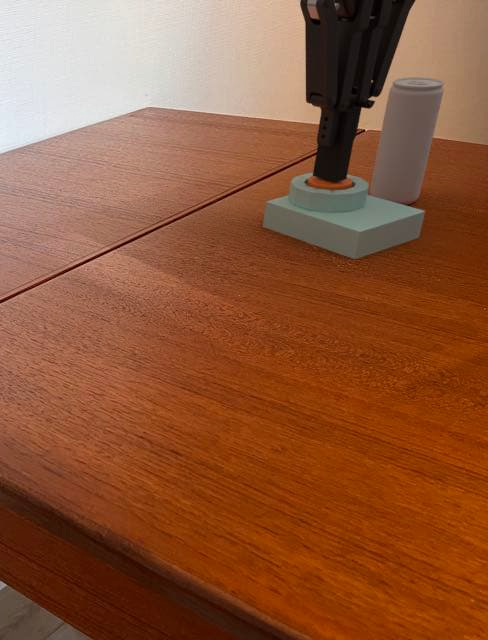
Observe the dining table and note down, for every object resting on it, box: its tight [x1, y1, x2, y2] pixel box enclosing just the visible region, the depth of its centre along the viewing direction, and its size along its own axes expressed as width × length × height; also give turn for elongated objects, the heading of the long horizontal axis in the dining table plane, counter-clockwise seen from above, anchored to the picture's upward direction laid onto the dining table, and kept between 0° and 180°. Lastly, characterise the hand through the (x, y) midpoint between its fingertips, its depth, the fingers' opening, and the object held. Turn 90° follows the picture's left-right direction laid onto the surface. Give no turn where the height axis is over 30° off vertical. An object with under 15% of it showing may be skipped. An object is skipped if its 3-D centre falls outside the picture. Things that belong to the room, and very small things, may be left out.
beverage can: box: [368, 76, 445, 206], centre depth 88 cm, size 5×5×12 cm
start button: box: [307, 176, 352, 190], centre depth 84 cm, size 4×4×2 cm
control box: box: [262, 172, 426, 260], centre depth 83 cm, size 11×9×4 cm
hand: (329, 177), depth 83 cm, fingers closed
